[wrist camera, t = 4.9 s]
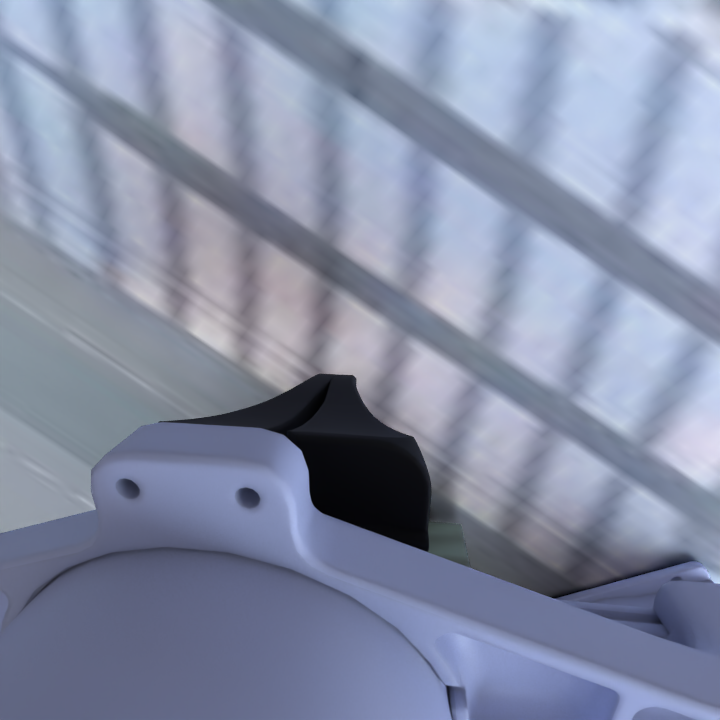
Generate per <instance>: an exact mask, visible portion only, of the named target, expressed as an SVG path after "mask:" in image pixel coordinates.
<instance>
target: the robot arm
mask: <svg viewBox="0 0 720 720" xmlns="http://www.w3.org/2000/svg"><path fill="white" fill-rule="evenodd" d="M91 492H92V496H93V500H94V503H95V506H96V510H92V511H88V512H84V513H80V514H76V515H72V516H68V517H64V518H60V519H56V520H52V521H48V522H44V523H40V524H36V525H32V526H28V527H24V528H20V529H16V530H12V531H8V532H4V533H0V720H720V584H716V583H714V582H713V581H712V580H711V578H710V575H709V573H708V570H707V569H706V568H705V567H704V566H703V564H702V563H700V562H696V561H691V562H687V563H683V564H679V565H676V566H672V567H668V568H665V569H661V570H658V571H654V572H650V573H647V574H643V575H639V576H636V577H632V578H628V579H625V580H621V581H617V582H614V583H610V584H606V585H603V586H599V587H595V588H592V589H588V590H584V591H581V592H577V593H574V594H570V595H566V596H563V597H559V598H555V599H553V598H550V597H548V596H545V595H542V594H540V593H537V592H534V591H531V590H529V589H526V588H523V587H521V586H518V585H515V584H512V583H510V582H507V581H504V580H502V579H499V578H496V577H493V576H491V575H488V574H485V573H483V572H480V571H477V570H474V569H472V568H469V567H466V566H464V565H461V564H458V563H456V562H453V561H450V560H447V559H445V558H442V557H439V556H437V555H434V554H431V553H428V551H429V535H428V525H429V515H430V504H431V482H430V477H429V473H428V470H427V467H426V464H425V461H424V458H423V456H422V453H421V451H420V449H419V447H418V445H417V442H416V440H415V439H414V437H412V436H409V435H406V434H403V433H400V432H397V431H395V430H393V429H391V428H389V427H388V426H386V425H384V424H383V423H381V422H380V421H379V420H378V419H376V418H375V417H374V416H373V415H372V414H371V413H370V412H369V410H368V409H367V407H366V406H365V404H364V403H363V401H362V399H361V397H360V395H359V393H358V391H357V388H356V378H355V377H354V376H353V375H335V374H318V375H315V376H314V377H312V378H310V379H308V380H307V381H305V382H303V383H301V384H300V385H298V386H296V387H294V388H293V389H291V390H289V391H287V392H285V393H283V394H281V395H279V396H277V397H275V398H273V399H270V400H268V401H266V402H263V403H260V404H258V405H255V406H252V407H249V408H245V409H242V410H238V411H234V412H230V413H226V414H222V415H216V416H211V417H204V418H197V419H188V420H175V421H159V422H158V423H154V424H149V425H144V426H141V427H139V428H138V429H137V430H136V431H134V432H133V433H132V434H131V435H129V436H128V437H127V438H126V439H125V440H123V441H122V442H121V443H120V444H118V445H117V446H116V447H115V448H113V449H112V450H111V451H110V452H108V453H107V454H106V455H105V456H104V457H103V458H102V459H101V460H100V461H99V462H98V463H97V464H96V466H95V467H94V468H93V469H92V470H91Z"/></svg>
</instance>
